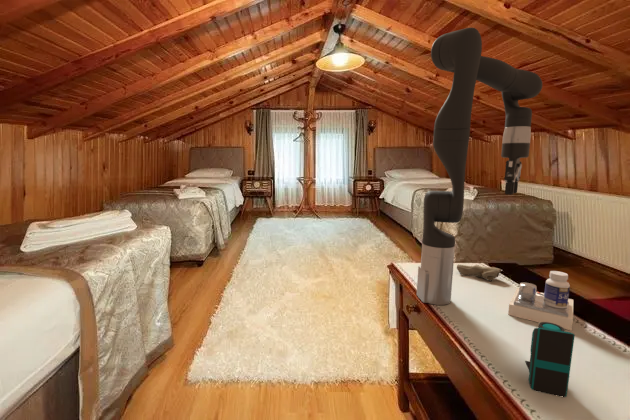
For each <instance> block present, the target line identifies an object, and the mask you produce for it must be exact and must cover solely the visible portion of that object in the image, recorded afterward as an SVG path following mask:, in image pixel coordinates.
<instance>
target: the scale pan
mask: <svg viewBox="0 0 630 420" xmlns="http://www.w3.org/2000/svg"><path fill="white" fill-rule="evenodd" d="M518 296H519V292H518V294H517V296H516V298H515V301H514V305H517V306H522V307H526V308H530V309H534V310H539V311H543V312H547V313H552V314H556V315H560V316H564V317H568V315H569V302H568V304H567V307H566V308H555V307H551V306H548V305H546V304H545V303H544V297H543V296H538V295H536V297H535V301H533V302H530V301H525V300H522V299H520V298H519V297H518Z"/></svg>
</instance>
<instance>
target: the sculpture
mask: <svg viewBox="0 0 630 420" xmlns="http://www.w3.org/2000/svg"><path fill="white" fill-rule="evenodd" d="M456 269H457V271H458V272H459V274H460V275H463V276H469V277H470V276H475V277H477V278H484V279H485V280H486V281H489V280H492V281H494V279H496V278H498V277H499V275H500V273H501V271H502V270H501V268H498V267H487V266H480V265H479V264H476V265H471V266H470V265H466V264H465V265H464V264H460V263H459V264H456Z"/></svg>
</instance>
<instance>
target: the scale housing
mask: <svg viewBox="0 0 630 420" xmlns="http://www.w3.org/2000/svg"><path fill="white" fill-rule="evenodd" d="M518 292H519V287H517V288H516V289H515V291H514V294H513V296H512V297H511V300H510V302H509V303H508V304H509V305H508V313H507V314H508V315H509V316H512V317H516V318H520V319H524V320H529V321H532V322H537V323H538V324H539V323H540V322H549V323H553V324H557V325H559V326H561V327H563V328H564V330H567V331H573V325H574V324H573V322H574V299H572V298H568V302H569V315H568V317H564V316H560V315H556V314H552V313H547V312H543V311H539V310H534V309H530V308H526V307H522V306H517V305H514V301H515V298H516V296H517V294H518ZM536 295H538V296H543V297H544V292H540V291H536Z"/></svg>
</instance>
